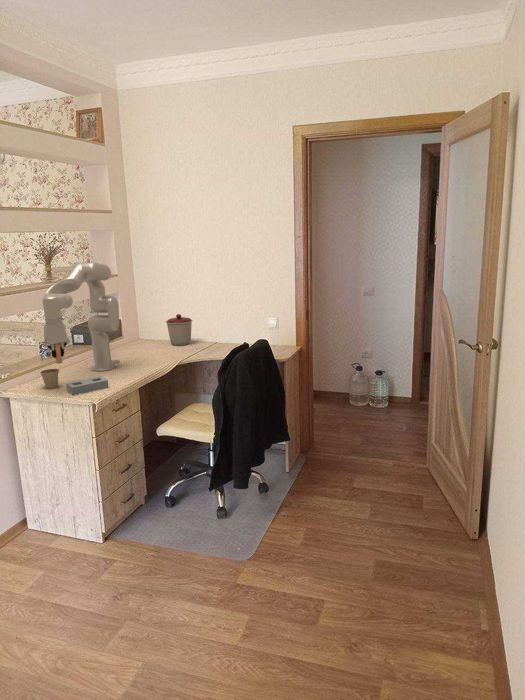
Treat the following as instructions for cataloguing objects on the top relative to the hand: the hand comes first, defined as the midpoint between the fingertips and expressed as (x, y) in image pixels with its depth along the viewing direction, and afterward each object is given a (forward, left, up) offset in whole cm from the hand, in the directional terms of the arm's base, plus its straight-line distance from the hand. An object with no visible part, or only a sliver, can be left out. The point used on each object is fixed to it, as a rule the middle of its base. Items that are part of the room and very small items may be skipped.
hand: (58, 356), depth 267 cm
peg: (0, 0, -3) cm, 3 cm away
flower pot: (+2, -11, -18) cm, 22 cm away
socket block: (-11, +7, -18) cm, 22 cm away
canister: (-96, -51, -18) cm, 110 cm away
